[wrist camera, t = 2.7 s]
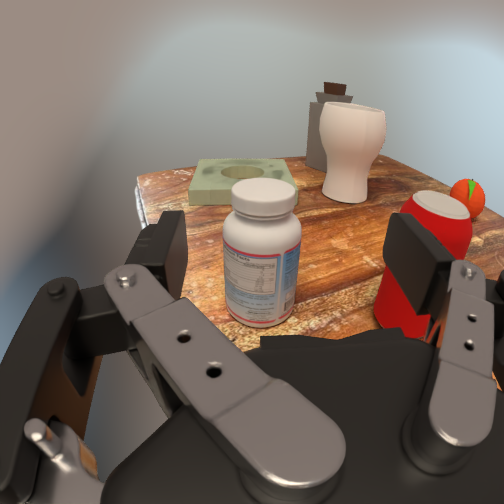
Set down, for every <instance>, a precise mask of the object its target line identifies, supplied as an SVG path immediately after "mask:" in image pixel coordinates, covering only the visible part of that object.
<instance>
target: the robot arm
mask: <svg viewBox="0 0 504 504" xmlns="http://www.w3.org/2000/svg"><path fill="white" fill-rule="evenodd" d="M383 259H384V262H385V263H386V265H387V267H388V268H389V270H390V271H391V273H392V275H393V276H394V278H395V279H396V281H397V283H398V284H399V286H400V288H401V289H402V291H403V293H404V294H405V296H406V298H407V299H408V301H409V303H410V304H411V306H412V308H413V310H414V311H415V313H416V315H417V316H419V315H428V314H430V315H431V316H430V318H429V320H428V323H427V326H426V329H425V333H424V336H423V340H422V341H421V340H418V339H414V338H409V337H405V335H404V333H403V331H402V329H401V327H395V328H385V329H374V330H368V331H365V332H362V333H359V334H356V335H352V336H349V337H346V338H343V339H338V340H334V339H326V338H318V337H311V336H303V335H279V336H260V347H259V348H255V349H252V350H249V351H246V352H242V351H241V350H240V349H239V348H238V347H237V346H236V345H235V344H233V343H232V342H231V341H230V340H229V339H228V338H227V337H226V336H225V335H224V334H223V333H222V332H221V331H220V330H219V329H218V328H217V327H216V326H215V325H214V324H213V323H212V322H211V321H210V320H209V319H208V318H207V317H206V316H205V315H204V314H203V313H202V312H201V311H200V310H199V309H198V308H197V307H196V306H195V305H194V304H193V303H192V302H191V301H190V300H189V299H187V298H186V297H182V298H180V296H181V292H182V287H183V282H184V277H185V273H186V268H187V263H188V245H187V235H186V224H185V214H184V211H183V210H178V211H163V213H162V215H161V217H160V219H159V221H158V224H149V225H148V226H147V227H145V228H144V229H143V230H142V231H141V232H140V234H139V236H138V238H137V240H136V242H135V244H134V247H133V248H132V250H131V252H130V254H129V256H128V258H127V260H126V262H125V264H124V265H122V266H119V267H117V268H115V269H113V270H111V271H110V272H109V273H108V274H107V275H106V276H105V279H104V284H103V285H100V286H96V287H91V288H86V289H81V290H80V289H79V286H78V284H77V281H76V280H74V279H73V278H69V277H61V278H56V279H53V280H51V281H49V282H47V283H46V284H45V285H44V286H42V287H41V288H40V290H39V291H38V293H37V295H36V296H35V298H34V300H33V302H32V304H31V305H30V307H29V309H28V310H27V312H26V314H25V316H24V318H23V320H22V321H21V323H20V325H19V327H18V329H17V331H16V333H15V335H14V337H13V339H12V341H11V343H10V345H9V347H8V349H7V351H6V353H5V355H4V357H3V360H2V362H1V364H0V504H504V270H503V271H502V272H501V274H500V276H499V278H498V280H497V281H495V280H490V279H485V274H484V272H483V271H482V270H481V269H480V268H479V267H478V266H477V265H475V264H473V263H471V262H469V261H466V260H456V259H455V257H454V256H453V255H452V254H451V253H450V252H449V251H448V250H447V248H446V247H445V246H443V245H442V243H441V242H440V241H439V240H437V238H436V236H435V235H434V234H433V233H432V232H431V231H429V230H428V229H426V228H425V227H423V225H422V224H421V223H420V222H419V221H418V220H417V219H416V218H415V217H414V216H413V215H412V214H410V213H392V215H391V216H390V220H389V224H388V228H387V233H386V237H385V241H384V245H383ZM125 350H126V351H127V353H128V355H129V356H130V358H131V359H132V361H133V363H134V364H135V366H136V367H137V369H138V371H139V372H140V374H141V375H142V377H143V378H144V380H145V381H146V383H147V384H148V386H149V387H150V389H151V390H152V392H153V394H154V396H155V397H156V399H157V401H158V403H159V405H160V407H161V408H162V410H163V411H164V413H165V414H166V416H167V417H168V420H167V421H166V422H165V423H163V424H162V425H161V426H160V427H159V428H158V429H157V430H156V431H155V432H154V433H153V434H152V435H151V436H150V437H149V438H148V439H147V440H145V441H144V442H143V443H142V444H141V445H140V446H139V447H138V448H137V449H136V450H135V451H134V452H132V453H131V454H130V455H129V456H128V457H127V458H126V459H125V460H124V461H123V462H121V463H120V464H119V465H118V466H117V467H116V468H115V469H114V470H113V471H112V473H111V474H110V475H109V477H108V478H107V480H106V482H105V483H103V482H100V480H99V477H98V474H97V462H96V458H95V456H94V453H93V452H92V451H91V449H90V448H89V447H88V446H87V445H86V444H85V443H84V442H83V441H84V436H85V430H86V425H87V420H88V416H89V411H90V407H91V402H92V398H93V393H94V389H95V385H96V381H97V377H98V372H99V369H100V365H101V361H102V358H103V355H106V354H111V353H116V352H121V351H125ZM492 371H493V373H494V375H495V377H496V379H497V381H498V383H499V385H500V387H501V389H502V391H501V390H499V389H498V388H497V382H496V380H495V379H493V378H492Z"/></svg>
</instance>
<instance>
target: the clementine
mask: <svg viewBox="0 0 504 504" xmlns="http://www.w3.org/2000/svg"><path fill="white" fill-rule="evenodd" d="M450 197H452V198H454V199H456V200H458V201H460V202H461V203H462V204H464V205H465V207H466V208H467V209H468V211H469V212H470V217H471V218H475V217H476V216H478V215H479V214H480V213H481V212H482V210H483V208H484V205H485V194H484V191H483V189H482V188H481V186H480V185H479V184H478V183H477V182H475V181H473V179H472V180H470V179H463V180H460V181H458V182H457V183H455V184H454V186H453V187H452V189H451V192H450Z"/></svg>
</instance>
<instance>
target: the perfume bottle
mask: <svg viewBox="0 0 504 504" xmlns="http://www.w3.org/2000/svg"><path fill="white" fill-rule="evenodd" d="M345 91H346V85H345V84H338V83H330V82H324V92H316V96H317V101H318V102H310V112H309V127H308V140H307V153H306V166H309V167H311V168H314V169H317V170H320V171H323V172H326V173H327V155H326V152H325V150H324V147H323V145H322V141H321V136H320V131H319V125H320V116H321V113H322V110H323V107H324V104H325V102H341V103H349V104H350V103H351V101H352V98H353V96H348V95H345Z"/></svg>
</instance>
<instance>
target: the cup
mask: <svg viewBox="0 0 504 504" xmlns="http://www.w3.org/2000/svg"><path fill="white" fill-rule="evenodd" d="M319 131H320V136H321V141H322V145H323V147H324V150H325V152H326V155H327V174H326V177H325V180H324V184H323V188H322V192H323V194H324V195H325V196H327V197H329V198H331V199H333V200H337V201H340V202H346V203H360V202H363V201H365V200H366V199H367V176H368V173H369V170H370V166H371V163H372V162H373V161H374V159H375V158H376V157H377V155H378V154H379V152H380V150H381V148H382V145H383V143H384V141H385V135H386V119H385V113H384V111H382V110H379V109H375V108H372V107H366V106H361V105H356V104H349V103H341V102H325V104H324V107H323V110H322V113H321V116H320V125H319Z"/></svg>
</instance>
